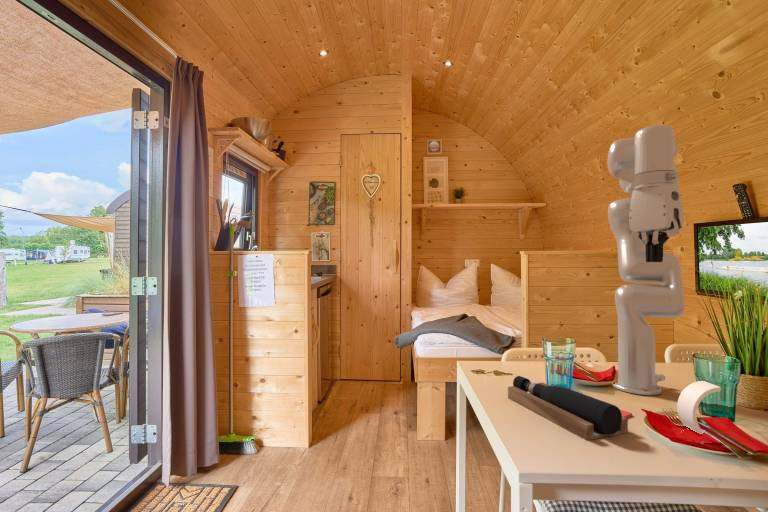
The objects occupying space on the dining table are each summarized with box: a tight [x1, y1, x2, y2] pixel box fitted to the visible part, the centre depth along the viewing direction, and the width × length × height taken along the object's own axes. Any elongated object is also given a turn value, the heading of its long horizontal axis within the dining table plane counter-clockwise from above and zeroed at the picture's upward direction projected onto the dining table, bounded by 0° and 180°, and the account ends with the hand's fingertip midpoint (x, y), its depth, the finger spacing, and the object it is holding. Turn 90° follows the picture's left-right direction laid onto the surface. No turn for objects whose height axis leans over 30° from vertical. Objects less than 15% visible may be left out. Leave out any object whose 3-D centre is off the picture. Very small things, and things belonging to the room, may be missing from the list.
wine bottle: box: [512, 375, 622, 436], centre depth 101 cm, size 6×6×30 cm
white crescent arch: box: [676, 380, 722, 444], centre depth 87 cm, size 5×6×12 cm
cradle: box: [507, 382, 629, 441], centre depth 101 cm, size 12×28×3 cm, turn 19°
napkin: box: [620, 409, 633, 419], centre depth 100 cm, size 8×8×1 cm
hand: (654, 261), depth 90 cm, fingers closed
